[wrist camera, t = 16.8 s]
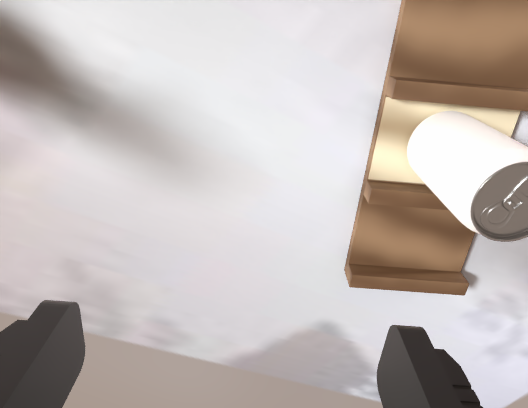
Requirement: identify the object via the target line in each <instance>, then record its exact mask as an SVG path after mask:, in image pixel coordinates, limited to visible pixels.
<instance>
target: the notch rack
mask: <svg viewBox="0 0 528 408" xmlns="http://www.w3.org/2000/svg"><path fill="white" fill-rule="evenodd" d="M443 111H458V112H462V113H464V114H467V115H469V116H471V117H473V118H475V119H477V120H478V121H480V122H482V123H484V124H486V125H488V126H490V127H492V128H494V129H495V130H497V131H499V132H501V133H503V134H505V135H507V136H509V137H510V138H511V135H512V133H513V130H514V127H515V125H516V122H517V119H518V116H519V114H520V111H528V0H402V2H401V7H400V12H399V16H398V21H397V26H396V30H395V35H394V40H393V44H392V49H391V54H390V58H389V63H388V68H387V72H386V77H385V82H384V86H383V91H382V96H381V100H380V105H379V110H378V115H377V119H376V124H375V129H374V133H373V138H372V143H371V147H370V152H369V157H368V161H367V166H366V171H365V175H364V180H363V185H362V189H361V194H360V199H359V203H358V208H357V213H356V218H355V222H354V227H353V232H352V236H351V241H350V246H349V250H348V255H347V260H346V264H345V269H344V270H345V274H346V277H347V280H348V284H349V287H355V288H369V289H383V290H397V291H410V292H424V293H438V294H452V295H465V293H466V291H467V288H468V286H469V283H468V281H467V280H466V279H465V277H464V276H463V275H462V273H461V270H462V267H463V264H464V261H465V259H466V256H467V253H468V251H469V248H470V245H471V243H472V240H473V237H474V234H475V232H474V231H472V230H470V229H468V228H467V227H466V226H464V225H463V224H462V223H461V222H460V221H459V220H458V219H457V218H456V217H455V216H454V215H453V214H452V213H451V211H450V210H449V209H448V208H447V207H446V206H445V205H444V204H443V203H442V202H441V201H440V200H439V198H438V197H437V196H436V195H435V194H434V193H433V192H432V191H431V190H430V189H429V187H428V186H427V185H426V184H425V183H424V182H423V181H422V180H421V179H420V177H419V176H418V175H417V174H416V173H415V172H414V171H413V169H412V168H411V166H410V164H409V161H408V157H407V146H408V142H409V139H410V137H411V135H412V133H413V131H414V130H415V129H416V127H417V126H418V125H419V124H420V123H421V122H422V121H424V120H425V119H426V118H428V117H430V116H432V115H434V114H436V113H439V112H443Z"/></svg>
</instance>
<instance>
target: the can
mask: <svg viewBox="0 0 528 408" xmlns="http://www.w3.org/2000/svg"><path fill="white" fill-rule="evenodd" d="M407 157H408V161H409V164H410V166H411V168H412V169H413V171H414V172H415V173H416V174H417V175H418V176H419V177H420V179H421V180H422V181H423V182H424V183H425V184H426V185H427V186H428V187H429V189H430V190H431V191H432V192H433V193H434V194H435V195H436V196H437V197H438V198H439V200H440V201H441V202H442V203H443V204H444V205H445V206H446V207H447V208H448V209H449V210H450V211H451V213H452V214H453V215H454V216H455V217H456V218H457V219H458V220H459V221H460V222H461V223H462V224H463V225H464V226H466V227H467V228H468V229H470V230H472V231H474V232H476V233H479V234H481V235H483V236H484V237H486V238H488V239H491V240H494V241H501V242H509V241H516V240H520V239H523V238H526V237H528V147H527V146H525V145H523V144H522V143H520V142H518V141H516V140H514V139H512V138H510V137H509V136H507V135H505V134H503V133H501V132H499V131H497V130H495V129H494V128H492V127H490V126H488V125H486V124H484V123H482V122H480V121H478V120H477V119H475V118H473V117H471V116H469V115H467V114H464V113H462V112H458V111H443V112H439V113H436V114H434V115H432V116H430V117H428V118H426V119H425V120H424V121H422V122H421V123H420V124H419V125H418V126H417V127H416V129H415V130H414V131H413V133H412V135H411V137H410V139H409V142H408V146H407Z"/></svg>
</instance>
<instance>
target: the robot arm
mask: <svg viewBox="0 0 528 408" xmlns="http://www.w3.org/2000/svg"><path fill="white" fill-rule="evenodd" d="M84 356H85V342H84V335H83V328H82V322H81V315H80V309H79V305H78V304H77V303H76V302H66V301H52V300H44V301H43V302H41V303H40V304H39V306H38V307H37V308H36V310H35V311H34V312H33V314H32V315H31V316H30V318H29V319H28V320H17V321H15V322H14V323H13V324H11V325H10V326H8V327H7V328H6V329H4V330H3V331H1V332H0V408H62V407H63V405H64V403H65V401H66V399H67V397H68V395H69V393H70V391H71V389H72V387H73V385H74V383H75V381H76V379H77V377H78V375H79V373H80V371H81V368H82V365H83V362H84ZM377 385H378V391H379V395H380V398H381V402H382V405H383V408H483V407H482V406H480V401H479V399H478V397H477V396H476V394H475V392H474V390H472V389H471V385H470V383H469V381H468V379H467V377H466V375H465V374H464V372H463V370H462V368H461V366H460V365H459V364H458V363H457V362H456V361H455V360H454V359H453V358H452V357H451V356H450V355H449V354H448V353H447V352H446V351H445V350H444V349H434V347H433V345H432V343H431V341H430V339H429V337H428V335H427V333H426V331H425V330H424V329H423V328H422V327H415V326H400V325H392V326H391V327H390V328H389V331H388V334H387V337H386V341H385V344H384V348H383V351H382V354H381V358H380V361H379V364H378V369H377Z"/></svg>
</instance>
